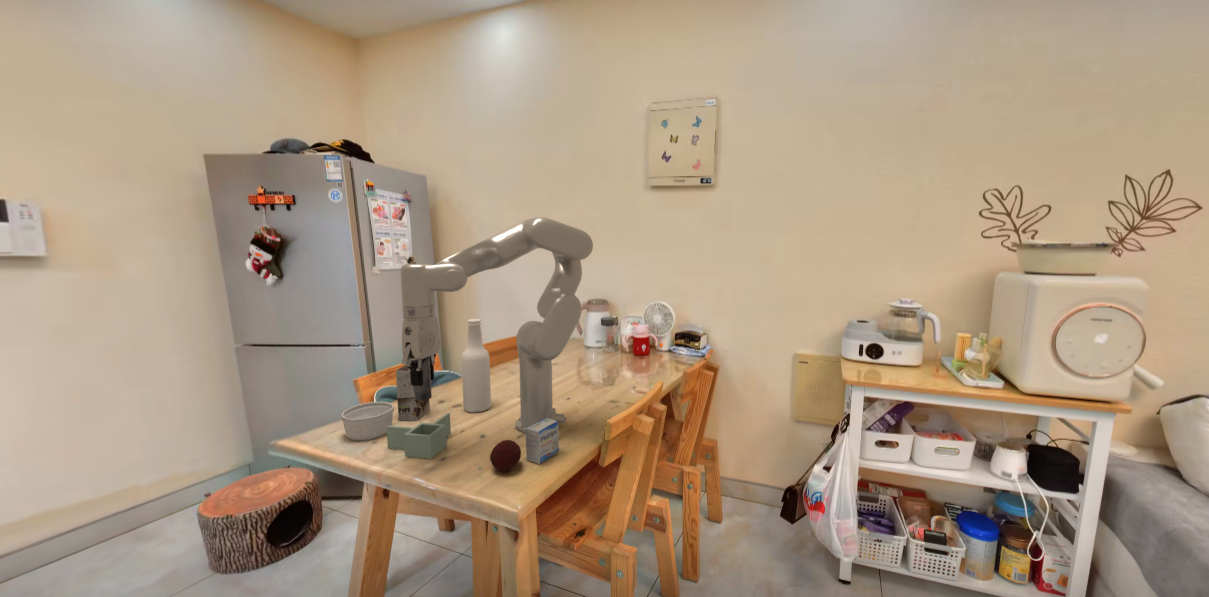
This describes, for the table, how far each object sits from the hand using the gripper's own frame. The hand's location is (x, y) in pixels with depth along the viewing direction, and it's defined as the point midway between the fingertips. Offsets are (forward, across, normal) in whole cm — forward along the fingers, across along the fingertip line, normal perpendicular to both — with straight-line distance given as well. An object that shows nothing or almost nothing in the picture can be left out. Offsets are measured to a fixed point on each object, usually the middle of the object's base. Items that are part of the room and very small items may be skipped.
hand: (422, 381), depth 110 cm
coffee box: (+19, +21, +18) cm, 34 cm away
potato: (+19, -4, -24) cm, 31 cm away
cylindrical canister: (+4, 0, 0) cm, 4 cm away
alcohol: (+19, +30, +1) cm, 36 cm away
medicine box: (+19, +3, -31) cm, 37 cm away
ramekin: (+19, +7, +23) cm, 31 cm away
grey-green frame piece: (+19, +4, +4) cm, 20 cm away
